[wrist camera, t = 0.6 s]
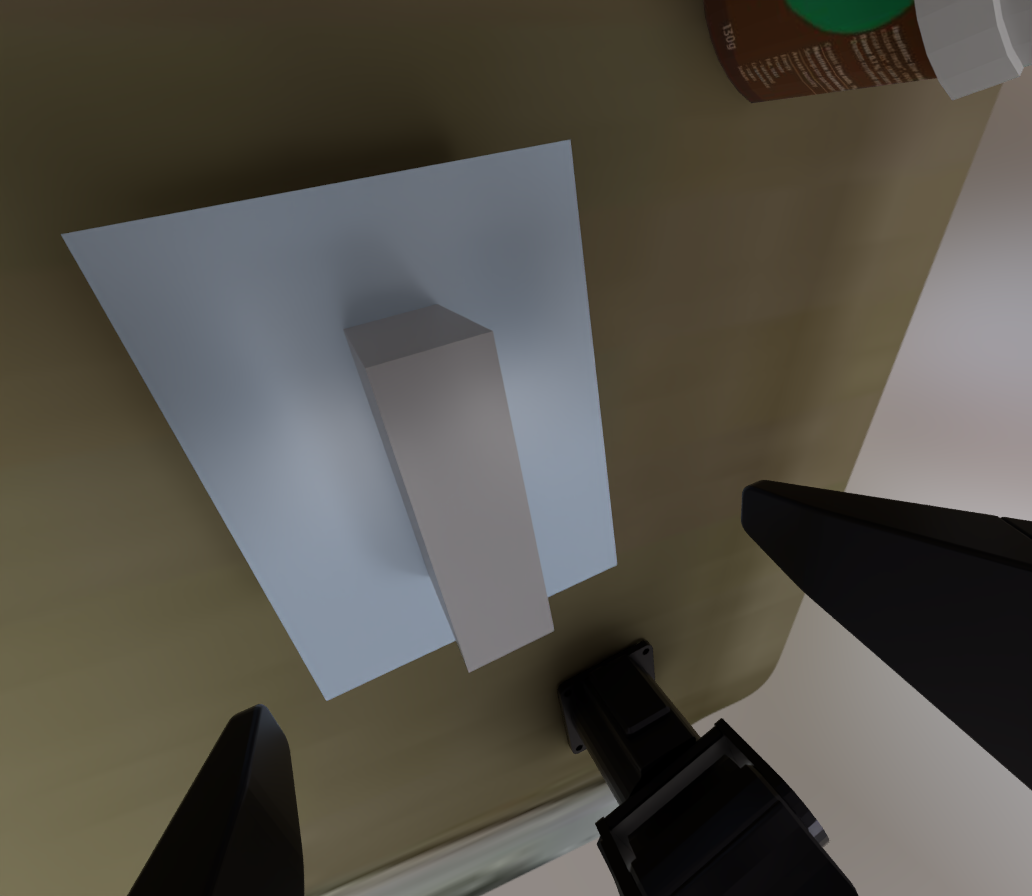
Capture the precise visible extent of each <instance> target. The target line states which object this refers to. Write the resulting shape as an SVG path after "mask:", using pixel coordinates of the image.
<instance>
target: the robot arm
mask: <svg viewBox="0 0 1032 896" xmlns="http://www.w3.org/2000/svg"><path fill="white" fill-rule="evenodd" d="M741 523H742V526H743V528H744V530H745V531H746V533H747V534H748V535H749V536H750V537H751V538H752V539H753V540H754V541H755V542H756V543H757V544H758V545H759V546H760V547H761V549H762V550H763V551H764V552H765V553H766V554H767V555H768V556H769V557H770V558H771V559H772V560H773V561H774V562H775V563H776V564H777V565H778V566H779V567H780V568H781V569H782V570H783V571H784V572H785V573H786V575H787V576H788V577H789V578H790V579H791V580H792V581H793V582H794V583H795V584H796V585H797V586H798V587H799V588H800V589H801V590H802V591H803V592H805V593H806V594H807V595H808V596H809V597H810V598H811V599H812V600H813V601H815V602H816V603H817V604H818V605H819V606H820V607H821V608H823V609H824V610H825V611H826V612H827V613H828V614H829V615H831V616H832V617H833V618H834V619H835V620H836V621H838V622H839V623H840V624H841V625H842V626H843V627H844V628H846V629H847V630H848V631H849V632H850V633H851V634H853V635H854V636H855V637H856V638H857V639H858V640H859V641H861V642H862V643H863V644H864V645H865V646H866V647H867V648H869V649H870V650H871V651H872V652H873V653H874V654H876V655H877V656H878V657H879V658H880V659H881V660H882V661H884V662H885V663H886V664H887V665H888V666H889V667H890V668H892V669H893V670H894V671H895V672H896V673H897V674H898V675H900V676H901V677H902V678H903V679H904V680H905V681H907V682H908V683H909V684H910V685H911V686H912V687H914V688H915V689H916V690H917V691H918V692H919V693H920V694H921V695H923V696H924V697H925V698H926V699H927V700H928V701H929V702H931V703H932V704H933V705H934V706H935V707H936V708H938V709H939V710H940V711H941V712H942V713H943V714H944V715H946V716H947V717H948V718H949V719H950V720H951V721H953V722H954V723H955V724H956V725H957V726H958V727H959V728H960V729H962V730H963V731H964V732H965V733H966V734H968V735H969V736H970V737H971V738H972V739H973V740H974V741H976V742H977V743H978V744H979V745H980V746H981V747H983V749H985V750H986V751H987V752H988V753H989V754H990V755H992V756H993V757H994V758H995V759H996V760H997V761H999V762H1000V763H1001V764H1002V765H1003V766H1004V767H1005V768H1007V769H1008V770H1009V771H1010V772H1011V773H1012V774H1013V775H1015V776H1016V777H1017V778H1018V779H1019V780H1020V781H1021V782H1023V783H1024V784H1025V785H1026V786H1027V787H1028V788H1029V789H1031V790H1032V521H1027V520H1020V519H1014V518H1008V517H1001V518H999V517H998V516H994V515H988V514H981V513H975V512H968V511H962V510H956V509H948V508H943V507H936V506H930V505H923V504H917V503H910V502H904V501H897V500H890V499H885V498H878V497H871V496H865V495H858V494H852V493H846V492H840V491H833V490H827V489H820V488H814V487H808V486H801V485H795V484H788V483H782V482H775V481H769V480H760V481H757V482H755V483H753V484H751V485H748V486H746V487H745V488H744V490H743V492H742V508H741ZM558 696H559V701H560V705H561V710H562V714H563V719H564V723H565V728H566V733H567V737H568V742H569V746H570V748H571V750H572V752H573V753H574V754H578V753H580V752H582V751H584V750H585V749H587V750H588V752H589V754H590V755H591V757H592V759H593V760H594V762H595V764H596V766H597V767H598V769H599V771H600V773H601V774H602V776H603V778H604V780H605V781H606V783H607V785H608V786H609V788H610V790H611V792H612V793H613V795H614V797H615V799H616V800H617V802H618V804H619V805H620V806H618V807H617V808H616V809H615V810H614V811H612V812H611V813H610V814H609V815H608V816H606V817H605V818H604V817H602V818H601V819H600V820H598V821H597V822H596V823H595V825H596V827H597V829H598V831H599V834H600V838H599V840H598V842H597V846H598V848H599V850H600V852H601V854H602V856H603V858H604V859H605V862H606V863H607V865H608V868H609V870H610V872H611V874H612V876H613V878H614V881H615V883H616V886H617V889H618V892H619V894H620V896H858V894H857V892H856V889H855V887H854V886H853V885H852V883H851V882H850V880H849V879H848V878H847V877H846V876H845V874H844V873H843V872H842V871H841V870H840V869H839V867H838V866H837V865H836V863H835V862H834V861H833V860H832V859H831V857H830V856H829V855H828V854H827V853H826V851H825V850H824V849H823V847H824V846H825V845H826V844H828V843H829V838H828V836H827V834H826V833H825V831H824V830H823V828H822V827H821V825H820V824H819V822H818V821H817V820H816V818H815V817H814V816H813V814H812V813H811V812H810V810H809V809H808V808H807V807H806V805H805V804H804V803H803V802H802V800H801V799H800V798H799V797H798V796H797V795H796V793H795V792H794V791H793V790H792V789H791V788H790V787H789V785H788V784H787V783H786V782H785V781H784V780H783V779H782V778H781V777H780V776H779V775H778V774H777V773H776V772H775V771H774V770H773V769H772V768H771V767H770V766H769V765H768V764H767V763H766V762H765V761H764V760H763V759H762V758H761V757H760V756H759V755H758V754H757V753H756V752H755V751H754V750H753V749H752V748H751V747H750V746H749V745H748V744H747V743H746V742H745V741H744V740H743V739H742V738H741V737H740V736H739V735H738V734H737V733H736V732H735V731H734V730H733V729H732V728H731V727H730V726H729V725H728V724H727V723H726V722H725V721H724V720H723V719H722V718H721V719H720V720H718V721H717V722H716V723H715V724H714V725H715V726H714V727H713V728H712V729H711V730H710V731H708V732H707V733H706V734H705V735H704V736H702V737H700V736H699V735H698V734H697V732H696V731H695V730H694V729H693V727H692V726H691V725H690V724H689V722H688V721H687V720H686V719H685V718H684V716H683V715H682V714H681V713H680V711H679V710H678V709H677V708H676V706H675V705H674V704H673V703H672V702H671V700H670V699H669V698H668V697H667V695H666V694H665V693H664V692H663V691H662V689H661V688H660V687H659V686H658V684H657V683H656V682H655V673H654V660H653V648H652V646H651V645H650V643H649V642H648V641H642V642H640V643H638V644H636V645H634V646H632V647H630V648H628V649H627V650H625V651H623V652H621V653H619V654H617V655H615V656H613V657H611V658H609V659H608V660H606V661H604V662H602V663H600V664H598V665H596V666H594V667H592V668H591V669H589V670H587V671H585V672H583V673H581V674H579V675H577V676H575V677H573V678H572V679H570V680H568V681H566V682H564V683H562V684H561V685H560V686H559V688H558ZM127 896H304V864H303V852H302V843H301V834H300V826H299V818H298V810H297V802H296V794H295V787H294V779H293V771H292V763H291V755H290V749H289V744H288V741H287V739H286V736H285V735H284V733H283V731H282V730H281V728H280V727H279V725H278V724H277V722H276V720H275V719H274V717H273V716H272V714H271V713H270V711H269V710H268V708H267V707H266V706H265V705H263V704H258V705H255V706H253V707H251V708H248V709H246V710H244V711H242V712H239V713H237V714H235V715H234V716H233V717H232V718H231V719H230V720H229V722H228V723H227V725H226V727H225V728H224V730H223V732H222V734H221V735H220V737H219V739H218V740H217V742H216V744H215V746H214V747H213V749H212V751H211V752H210V754H209V756H208V758H207V759H206V761H205V763H204V765H203V766H202V768H201V770H200V771H199V773H198V775H197V777H196V778H195V780H194V782H193V783H192V785H191V787H190V789H189V790H188V792H187V794H186V795H185V797H184V799H183V801H182V802H181V804H180V806H179V807H178V809H177V811H176V813H175V814H174V816H173V818H172V819H171V821H170V823H169V825H168V826H167V828H166V830H165V832H164V833H163V835H162V837H161V838H160V840H159V842H158V844H157V845H156V847H155V849H154V850H153V852H152V854H151V856H150V857H149V859H148V861H147V862H146V864H145V866H144V868H143V869H142V871H141V873H140V874H139V876H138V878H137V880H136V881H135V883H134V885H133V887H132V888H131V890H130V892H129V893H128V895H127Z"/></svg>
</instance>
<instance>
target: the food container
mask: <svg viewBox="0 0 1032 896" xmlns="http://www.w3.org/2000/svg"><path fill="white" fill-rule="evenodd" d="M703 2H704V10H705V17H706V21H707V25H708V29H709V33H710V38H711V41H712V44H713V46H714V49H715V52H716V54H717V57H718V60H719V62H720V64H721V66H722V67H723V69H724V71H725V73H726V75H727V77H728V78H729V80H730V81H731V82H732V84H733V85H734V86H735V87H736V89H737V90H738V91H739V92H740V93H741V94H742V95H743V96H744V97H745V98H746V99H747V100H749V101H750V102H751V103H756V102H764V101H771V100H779V99H786V98H793V97H801V96H808V95H815V94H823V93H830V92H838V91H845V90H852V89H860V88H867V87H875V86H882V85H889V84H897V83H904V82H911V81H919V80H926V79H934V78H938V80H939V82H940V84H941V85H942V87H943V88H944V89H945V91H946V92H947V94H948V95H949V96H950V98H951V99H952V100H955V99H958V98H960V97H963V96H966V95H969V94H972V93H975V92H978V91H980V90H983V89H986V88H989V87H992V86H995V85H997V84H1000V83H1003V82H1006V81H1009V80H1012V79H1014V78H1017V77H1020V74H1021V72H1022V70H1023V67H1026V66H1029V65H1032V0H703Z"/></svg>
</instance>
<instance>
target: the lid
mask: <svg viewBox="0 0 1032 896" xmlns="http://www.w3.org/2000/svg"><path fill="white" fill-rule="evenodd" d="M61 236H62V237H63V239H64V241H65V243H66V244H67V246H68V248H69V250H70V251H71V253H72V255H73V257H74V258H75V260H76V262H77V264H78V265H79V267H80V269H81V271H82V272H83V274H84V276H85V278H86V279H87V281H88V283H89V285H90V287H91V288H92V290H93V292H94V294H95V295H96V297H97V299H98V301H99V302H100V304H101V306H102V308H103V309H104V311H105V313H106V315H107V316H108V318H109V320H110V322H111V323H112V325H113V327H114V329H115V330H116V332H117V334H118V336H119V337H120V339H121V341H122V343H123V344H124V346H125V348H126V350H127V352H128V353H129V355H130V357H131V359H132V360H133V362H134V364H135V366H136V367H137V369H138V371H139V373H140V374H141V376H142V378H143V380H144V381H145V383H146V385H147V387H148V388H149V390H150V392H151V394H152V395H153V397H154V399H155V401H156V402H157V404H158V406H159V408H160V409H161V411H162V413H163V415H164V417H165V418H166V420H167V422H168V424H169V425H170V427H171V429H172V431H173V432H174V434H175V436H176V438H177V439H178V441H179V443H180V445H181V446H182V448H183V450H184V452H185V453H186V455H187V457H188V459H189V460H190V462H191V464H192V466H193V467H194V469H195V471H196V473H197V474H198V476H199V478H200V480H201V482H202V483H203V485H204V487H205V489H206V490H207V492H208V494H209V496H210V497H211V499H212V501H213V503H214V504H215V506H216V508H217V510H218V511H219V513H220V515H221V517H222V518H223V520H224V522H225V524H226V525H227V527H228V529H229V531H230V532H231V534H232V536H233V538H234V539H235V541H236V543H237V545H238V547H239V548H240V550H241V552H242V554H243V555H244V557H245V559H246V561H247V562H248V564H249V566H250V568H251V569H252V571H253V573H254V575H255V576H256V578H257V580H258V582H259V583H260V585H261V587H262V589H263V590H264V592H265V594H266V596H267V597H268V599H269V601H270V603H271V604H272V606H273V608H274V610H275V612H276V613H277V615H278V617H279V619H280V620H281V622H282V624H283V626H284V627H285V629H286V631H287V633H288V634H289V636H290V638H291V640H292V641H293V643H294V645H295V647H296V648H297V650H298V652H299V654H300V655H301V657H302V659H303V661H304V662H305V664H306V666H307V668H308V669H309V671H310V673H311V675H312V677H313V678H314V680H315V682H316V684H317V685H318V687H319V689H320V691H321V692H322V694H323V696H324V698H325V699H326V701H328V700H330V699H332V698H334V697H336V696H338V695H340V694H343V693H345V692H347V691H349V690H351V689H353V688H355V687H357V686H360V685H362V684H364V683H366V682H368V681H370V680H372V679H375V678H377V677H379V676H381V675H383V674H385V673H387V672H389V671H392V670H394V669H396V668H398V667H400V666H402V665H404V664H407V663H409V662H411V661H413V660H415V659H417V658H419V657H422V656H424V655H426V654H428V653H430V652H432V651H434V650H436V649H439V648H441V647H443V646H445V645H447V644H449V643H451V642H454V641H456V642H457V645H458V647H459V650H460V652H461V655H462V657H463V660H464V662H465V664H466V667H467V669H468V672H471V671H473V670H476V669H478V668H480V667H482V666H484V665H486V664H488V663H490V662H492V661H494V660H496V659H498V658H500V657H502V656H504V655H506V654H508V653H510V652H512V651H514V650H516V649H518V648H520V647H522V646H524V645H526V644H528V643H530V642H532V641H535V640H537V639H539V638H541V637H543V636H545V635H547V634H549V633H551V632H553V631H554V626H553V622H552V617H551V612H550V607H549V602H548V597H550V596H552V595H554V594H556V593H558V592H560V591H562V590H565V589H567V588H569V587H571V586H573V585H575V584H577V583H579V582H582V581H584V580H586V579H588V578H590V577H592V576H594V575H597V574H599V573H601V572H603V571H605V570H607V569H609V568H611V567H614V566H616V565H617V558H616V549H615V540H614V531H613V522H612V513H611V504H610V495H609V486H608V477H607V468H606V458H605V449H604V440H603V431H602V422H601V413H600V404H599V395H598V386H597V377H596V368H595V359H594V350H593V341H592V331H591V322H590V313H589V304H588V295H587V286H586V277H585V268H584V259H583V250H582V241H581V232H580V223H579V214H578V205H577V195H576V186H575V177H574V168H573V159H572V150H571V141H570V140H565V141H560V142H555V143H549V144H544V145H539V146H533V147H528V148H522V149H517V150H512V151H506V152H501V153H496V154H490V155H485V156H479V157H474V158H469V159H463V160H458V161H453V162H447V163H442V164H436V165H431V166H426V167H420V168H415V169H409V170H404V171H399V172H393V173H388V174H383V175H377V176H372V177H366V178H361V179H356V180H350V181H345V182H340V183H334V184H329V185H323V186H318V187H313V188H307V189H302V190H297V191H291V192H286V193H280V194H275V195H270V196H264V197H259V198H254V199H248V200H243V201H237V202H232V203H227V204H221V205H216V206H211V207H205V208H200V209H194V210H189V211H184V212H178V213H173V214H167V215H162V216H157V217H151V218H146V219H141V220H135V221H130V222H124V223H119V224H114V225H108V226H103V227H98V228H92V229H87V230H81V231H76V232H71V233H65V234H61Z"/></svg>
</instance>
